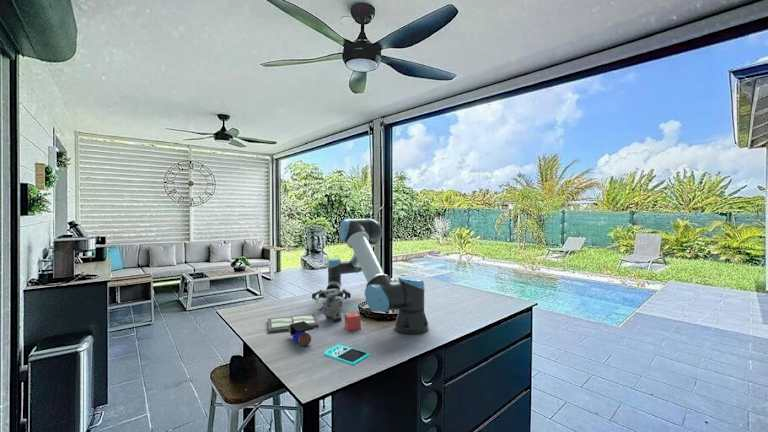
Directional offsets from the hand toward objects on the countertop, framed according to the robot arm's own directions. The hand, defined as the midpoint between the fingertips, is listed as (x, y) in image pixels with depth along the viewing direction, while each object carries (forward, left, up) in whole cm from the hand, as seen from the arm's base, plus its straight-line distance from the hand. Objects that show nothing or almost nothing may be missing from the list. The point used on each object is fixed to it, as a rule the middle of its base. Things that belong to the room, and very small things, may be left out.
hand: (330, 300), depth 175 cm
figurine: (-6, +1, -8) cm, 10 cm away
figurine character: (-27, +17, -8) cm, 33 cm away
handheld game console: (-46, +2, -9) cm, 47 cm away
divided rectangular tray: (-6, +19, -8) cm, 21 cm away
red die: (-20, -7, -8) cm, 23 cm away
